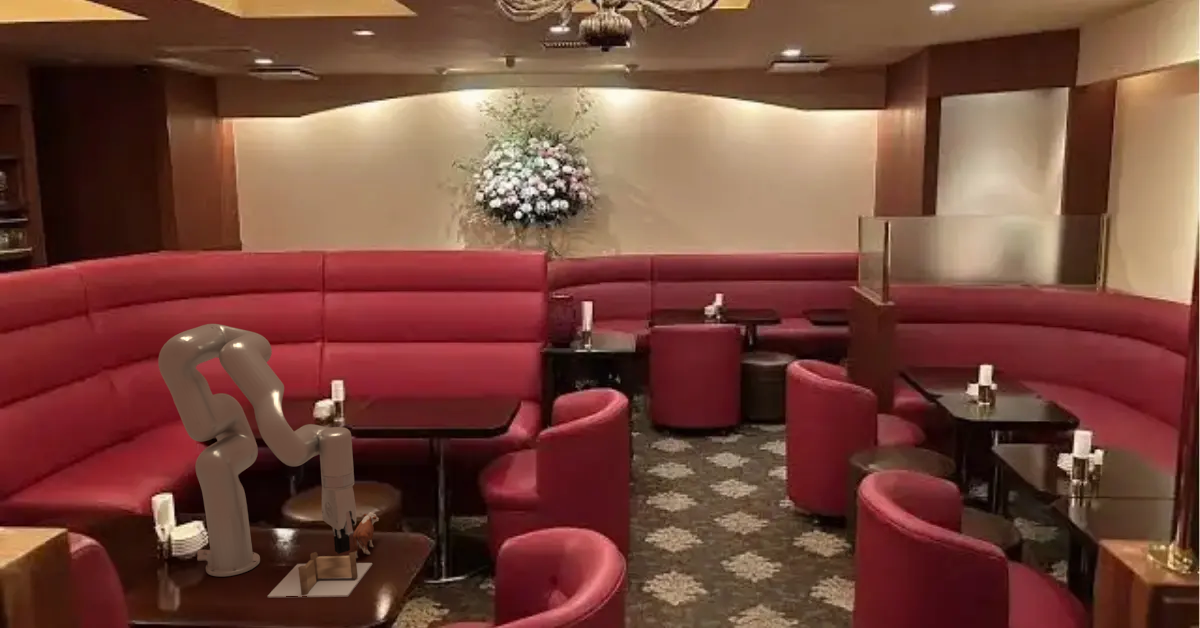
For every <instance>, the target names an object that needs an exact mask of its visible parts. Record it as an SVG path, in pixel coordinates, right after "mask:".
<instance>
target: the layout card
mask: <svg viewBox="0 0 1200 628" xmlns="http://www.w3.org/2000/svg"><path fill="white" fill-rule="evenodd" d="M306 564H307V563H296V565H294V566H293V568H292V569H291V570H290V571H289V572H288V573H287V574H286V575H285V577H283V578H282V580H281V581H280V582H279V583H278V584H277V585H276V586H275V587H274V588H273V589H272V590H271V592H270V593H269V594H268V595H267V598H287V597H286V596H298V597H297V598H303V597H302V596H307V597H306V598H341V597H342V598H343V597H347V598H348V597H349V596H350V595H351V594H352V592H353V591H354V589H355V588H356V587H357V586H358V584H359V582H361V581H362V579H363V577H364V576H365V575H366V574H367V572H368V571H369V569H370V568H371V567H372V565H373V563H372V562H356V565H357V575H358V577H357V578H354V579H353V578H352V577H349V578H319V579H317V580H316V583H315V585H314V586H313V587H312V588H311V589H310V590H309V593H308V594H307V595H301V587H300V578H299V569H298V567H300V566H305V565H306Z"/></svg>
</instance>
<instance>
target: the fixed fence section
mask: <svg viewBox="0 0 1200 628" xmlns="http://www.w3.org/2000/svg"><path fill="white" fill-rule="evenodd" d="M305 564H306V565H305V566H300V567H298V569H299V578H300V587H301V595H307V594H308V593H309V590H310V589H311V588H312V587H313V586H314V585H315V583H316V574H315V565H314V560H311V559H310V560H308V562H306V563H305Z"/></svg>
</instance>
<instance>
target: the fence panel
mask: <svg viewBox="0 0 1200 628" xmlns="http://www.w3.org/2000/svg"><path fill="white" fill-rule="evenodd" d="M310 560H314V565H315V574H316V580H317V579H319V578H349V577H352V578H353V579H354V578H357V577H358V575H357V565H356V563H357V558H356V555H355V552H354V551H351V552H349V553H348V555H332V556H331V555H327V556H325V555H322V556H318V552H317V551H313V552H310Z"/></svg>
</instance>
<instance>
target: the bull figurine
mask: <svg viewBox="0 0 1200 628" xmlns="http://www.w3.org/2000/svg"><path fill="white" fill-rule="evenodd" d="M379 519H380V518H379V517H378V516H377V514H376V513H374V512H371V511H369V512H368V514H367V513H364V514H363V518H362V520H361V521H360V522H359V524H357V526H356V528H355V530H354V531H353V533H352V543H353V548H354V549H353V552H355V555H356V559H359V555H358V548H359V549H361V550H362V552H363V554H366V555H371V552H370V551H369V549H368V548H374V547H375V546H374V545H373V536H374V531H375V530H374V529H375V528H374V524H375V523H377V522H379ZM368 542H369V547H368Z"/></svg>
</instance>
